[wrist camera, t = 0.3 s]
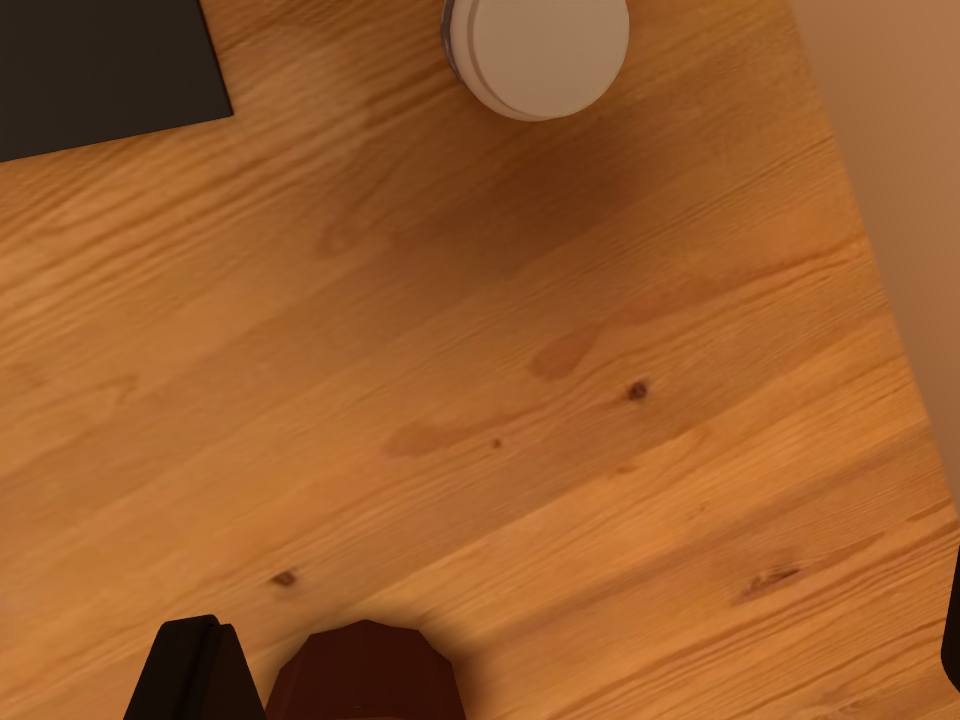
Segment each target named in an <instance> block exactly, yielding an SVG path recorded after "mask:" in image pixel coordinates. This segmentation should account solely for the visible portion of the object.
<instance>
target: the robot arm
mask: <svg viewBox="0 0 960 720" xmlns="http://www.w3.org/2000/svg"><path fill="white" fill-rule="evenodd" d="M941 660H942V664H943V667H944V670H945V672H946V674H947V676H948V678H949V680H950V681H951V682H952V684H953V685H954V686H955V688H956V689H957V690H958V691H959V692H960V546H959V552H958V557H957V563H956V568H955V574H954V580H953V585H952V591H951V597H950V602H949V608H948V614H947V619H946V625H945V630H944V636H943V642H942V647H941ZM123 720H267V717H266V715H265V712H264V709H263V706H262V703H261V701H260V698H259V695H258V692H257V690H256V687H255V684H254V681H253V679H252V676H251V673H250V670H249V668H248V665H247V662H246V659H245V656H244V654H243V651H242V648H241V645H240V643H239V640H238V637H237V634H236V632H235V629H234V627H233V626H232V625H231V624H223V625H220V623H219V621H218V619H217V618H216V617H215V616H214V615H211V614H209V615H203V616H197V617H191V618H185V619H179V620H173V621H167V622H165V623H164V624H162V625H161V627H160V629H159V631H158V633H157V635H156V638H155V640H154V643H153V645H152V648H151V651H150V653H149V656H148V658H147V661H146V663H145V666H144V668H143V671H142V673H141V676H140V678H139V681H138V683H137V686H136V688H135V691H134V693H133V696H132V698H131V701H130V703H129V706H128V708H127V711H126V713H125V716H124V718H123Z"/></svg>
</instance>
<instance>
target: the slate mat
mask: <svg viewBox="0 0 960 720" xmlns="http://www.w3.org/2000/svg"><path fill="white" fill-rule="evenodd" d="M232 115H233V111H232V108H231V105H230V101H229V98H228V95H227V92H226V88H225V85H224V82H223V79H222V75H221V72H220V69H219V66H218V62H217V59H216V56H215V52H214V49H213V46H212V43H211V39H210V36H209V33H208V30H207V26H206V23H205V20H204V17H203V13H202V10H201V7H200V4H199V0H0V162H4V161H9V160H14V159H19V158H24V157H29V156H34V155H39V154H44V153H49V152H54V151H59V150H64V149H69V148H74V147H80V146H85V145H90V144H95V143H100V142H105V141H110V140H115V139H120V138H125V137H130V136H135V135H140V134H145V133H150V132H155V131H160V130H165V129H170V128H175V127H180V126H185V125H190V124H195V123H200V122H206V121H211V120H216V119H221V118H226V117H231V116H232Z"/></svg>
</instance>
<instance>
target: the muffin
mask: <svg viewBox="0 0 960 720" xmlns="http://www.w3.org/2000/svg"><path fill="white" fill-rule="evenodd" d="M264 712H265V715H266V717H267V720H466V717H465V713H464V709H463V706H462V702H461V699H460V695H459V691H458V688H457V684H456V681H455V677H454V673H453V670H452V666H451V663H450V662H449V661H448V660H447V659H445V658H444V657H443V656H442V655H441V654H439V653H438V652H437V651H436V650H434V649H433V648H432V647H431V645H430V644H429V643H428V642H427V640H426V639H425V638H424V637H423V635H422V634H421V633H420V632H419V630H411V629H403V628H396V627H390V626H386V625H383V624H379V623H376V622H372V621H369V620H365V619H364V620H361V621H358V622H356V623H353V624H350V625H348V626H345V627H342V628H340V629H336V630H331V631H326V632H322V633H317V634H312V635H310V636H309V638H308V639H307V640H306V642H305V643H304V645H303V646H302V648H301V649H300V651H299V652H298V653H297V654H296V655H295V656H294V657H293V658H292V659H291V660H290V661H289V662H288V663H287V664H286V665H285V666H284V667H283V668H282V669H281V670H280V671H279V674H278V676H277V679H276V682H275V684H274V687H273V690H272V692H271V695H270V697H269V700H268V703H267V705H266V708H265V711H264Z"/></svg>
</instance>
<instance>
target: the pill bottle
mask: <svg viewBox="0 0 960 720" xmlns="http://www.w3.org/2000/svg"><path fill="white" fill-rule="evenodd" d="M629 28H630V26H629V13H628V9H627V5H626V1H625V0H445V2H444V6H443V10H442V16H441V39H442V45H443V48H444V52H445V55H446V58H447V60H448V63H449V65H450V67H451V68H452V70H453V71H454V73H455V74H456V76H457V77H458V78H459V79H460V80H461V81H462V82H463V83H464V84H465V86H466V87H467V88H468V89H469V90H470V91H471V92H472V93H473V94H474V95H475V96H476V97H477V98H478V99H479V100H480V101H481V102H482V103H483V104H484V105H486V106H487V107H488V108H490V109H491V110H493V111H494V112H496V113H498V114H501V115H503V116H506V117H509V118H512V119H516V120H521V121H532V122H535V121H543V120H549V119H553V118H558V117H564V116H568V115H571V114H574V113H576V112H579V111H580V110H582V109H584V108H586V107H588V106H589V105H591V104H592V103H593V102H595V101H596V100H597V99H598V98H599V97H600V96H601V95H602V94H604V93H605V91H606V90H607V89H608V88H609V87H610V85H611V84H612V82H613V81H614V80H615V78H616V76H617V74H618V72H619V71H620V68H621V66H622V64H623V61H624V59H625V55H626V51H627V47H628V41H629Z"/></svg>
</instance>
